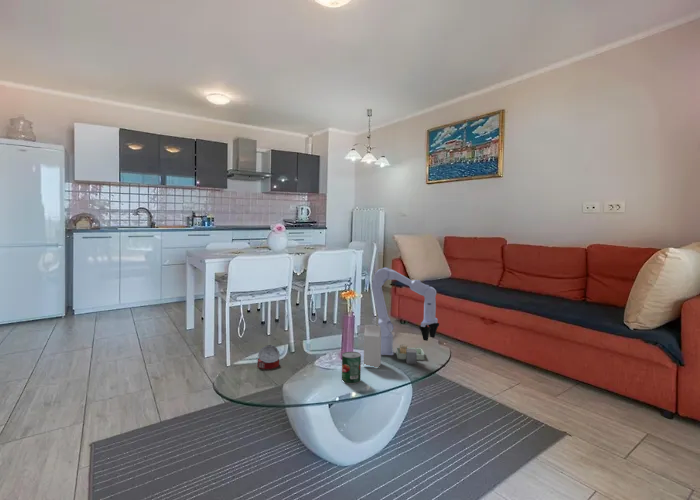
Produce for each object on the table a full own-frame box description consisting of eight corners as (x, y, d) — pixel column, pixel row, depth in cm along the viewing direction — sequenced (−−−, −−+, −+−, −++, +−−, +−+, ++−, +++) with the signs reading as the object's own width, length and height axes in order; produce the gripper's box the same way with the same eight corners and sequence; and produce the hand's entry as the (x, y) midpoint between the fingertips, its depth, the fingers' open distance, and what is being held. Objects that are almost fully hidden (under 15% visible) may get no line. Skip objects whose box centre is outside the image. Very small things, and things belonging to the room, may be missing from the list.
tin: (406, 364, 173) (406, 351, 172) (405, 361, 177) (405, 348, 177) (416, 365, 172) (416, 352, 172) (415, 362, 177) (415, 349, 177)
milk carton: (379, 369, 166) (379, 327, 165) (363, 368, 168) (364, 326, 167) (380, 364, 173) (381, 324, 172) (365, 363, 174) (366, 323, 174)
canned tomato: (337, 380, 153) (337, 354, 152) (350, 375, 158) (350, 350, 158) (351, 385, 147) (352, 358, 147) (364, 380, 153) (364, 354, 153)
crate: (397, 359, 180) (397, 353, 180) (396, 353, 190) (396, 347, 190) (424, 360, 179) (424, 354, 179) (421, 354, 189) (421, 348, 189)
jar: (400, 357, 183) (400, 346, 182) (399, 354, 186) (399, 344, 186) (407, 357, 182) (407, 346, 182) (406, 354, 186) (407, 344, 186)
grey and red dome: (278, 372, 173) (288, 354, 172) (267, 378, 164) (277, 359, 163) (260, 359, 177) (270, 341, 176) (248, 363, 167) (258, 344, 166)
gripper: (430, 315, 174) (429, 343, 174) (443, 310, 185) (442, 337, 186) (417, 312, 178) (416, 340, 179) (430, 308, 190) (429, 334, 190)
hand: (428, 338), depth 183 cm, fingers open, 7 cm apart
